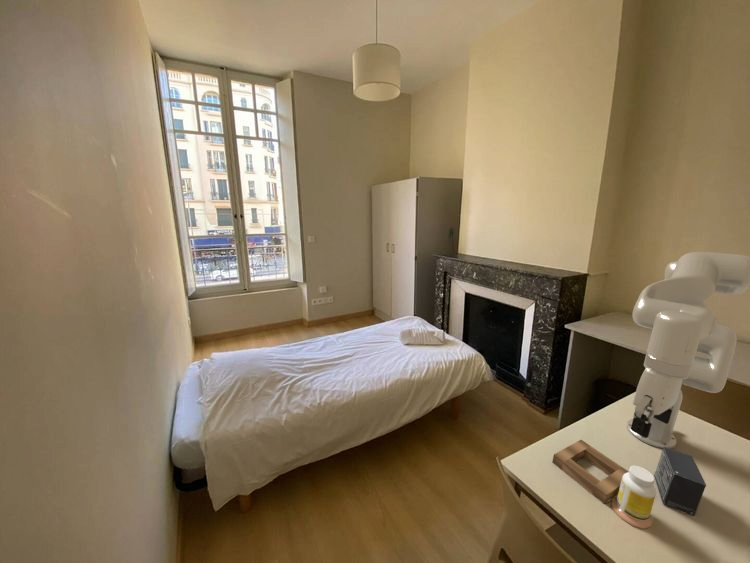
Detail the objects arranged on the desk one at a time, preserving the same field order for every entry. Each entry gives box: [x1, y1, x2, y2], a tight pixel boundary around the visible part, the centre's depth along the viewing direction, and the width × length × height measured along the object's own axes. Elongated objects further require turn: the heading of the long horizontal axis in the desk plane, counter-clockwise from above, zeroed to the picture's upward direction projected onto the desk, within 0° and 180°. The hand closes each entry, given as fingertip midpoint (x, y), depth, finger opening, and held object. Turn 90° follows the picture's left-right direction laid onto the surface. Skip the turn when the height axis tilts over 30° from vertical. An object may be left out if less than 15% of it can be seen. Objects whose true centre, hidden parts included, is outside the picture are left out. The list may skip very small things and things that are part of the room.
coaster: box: [610, 495, 653, 530], centre depth 77 cm, size 8×8×1 cm
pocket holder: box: [552, 439, 629, 505], centre depth 88 cm, size 14×14×3 cm
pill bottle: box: [616, 465, 657, 521], centre depth 76 cm, size 6×6×12 cm
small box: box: [653, 447, 707, 517], centre depth 80 cm, size 11×6×10 cm, turn 148°
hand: (649, 426), depth 73 cm, fingers open, 9 cm apart
